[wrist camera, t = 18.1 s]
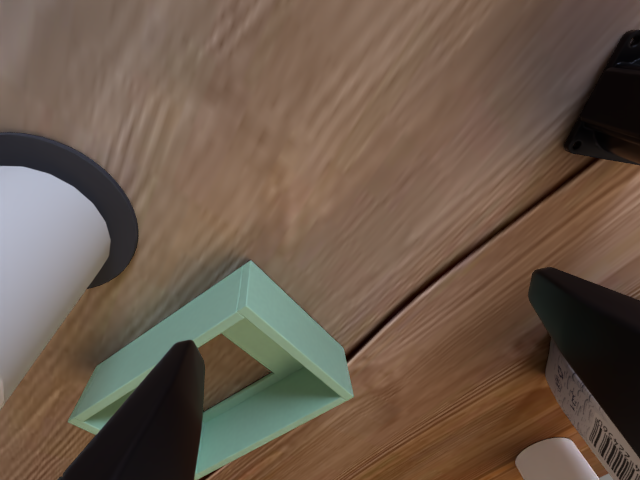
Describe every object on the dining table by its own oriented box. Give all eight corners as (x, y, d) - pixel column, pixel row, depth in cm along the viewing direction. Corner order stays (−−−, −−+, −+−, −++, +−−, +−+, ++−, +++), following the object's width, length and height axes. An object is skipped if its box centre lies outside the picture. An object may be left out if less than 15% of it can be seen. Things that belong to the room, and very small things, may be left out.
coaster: (131, 148, 19) (129, 150, 19) (143, 292, 24) (141, 296, 23) (-92, 116, 17) (-99, 118, 17) (-29, 280, 22) (-33, 284, 22)
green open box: (250, 259, 23) (246, 305, 20) (343, 347, 29) (354, 397, 25) (96, 365, 27) (66, 422, 23) (205, 426, 32) (196, 480, 28)
